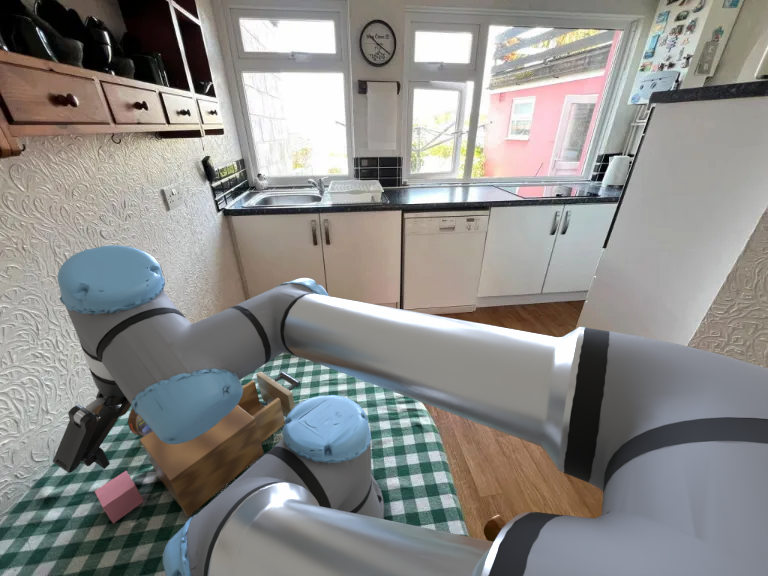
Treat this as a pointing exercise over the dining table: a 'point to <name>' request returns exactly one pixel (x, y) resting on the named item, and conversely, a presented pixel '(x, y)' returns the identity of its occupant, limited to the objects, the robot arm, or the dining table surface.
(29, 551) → the dining table surface
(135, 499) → the block
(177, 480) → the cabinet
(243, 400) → the drawer
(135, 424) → the tin
